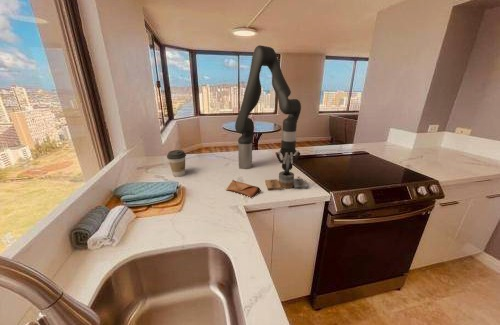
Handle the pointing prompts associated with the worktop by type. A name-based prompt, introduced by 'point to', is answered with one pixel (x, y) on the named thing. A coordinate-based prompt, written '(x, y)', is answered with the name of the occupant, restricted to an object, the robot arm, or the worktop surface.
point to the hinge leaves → (286, 182)
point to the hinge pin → (287, 165)
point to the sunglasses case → (243, 188)
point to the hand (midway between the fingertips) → (286, 169)
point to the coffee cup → (177, 162)
